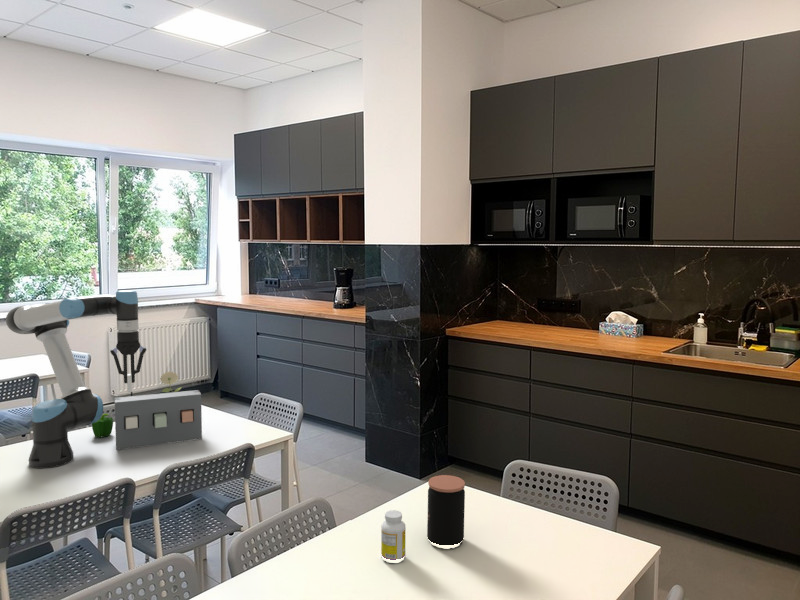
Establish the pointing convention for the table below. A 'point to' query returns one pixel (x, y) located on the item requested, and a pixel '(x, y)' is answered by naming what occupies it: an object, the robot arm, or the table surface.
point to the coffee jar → (446, 510)
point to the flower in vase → (169, 380)
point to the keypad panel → (145, 417)
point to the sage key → (160, 420)
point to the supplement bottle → (393, 536)
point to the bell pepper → (103, 426)
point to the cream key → (131, 422)
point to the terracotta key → (186, 415)
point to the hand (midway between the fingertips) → (129, 391)
